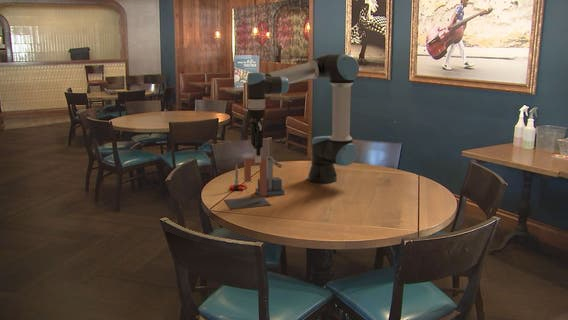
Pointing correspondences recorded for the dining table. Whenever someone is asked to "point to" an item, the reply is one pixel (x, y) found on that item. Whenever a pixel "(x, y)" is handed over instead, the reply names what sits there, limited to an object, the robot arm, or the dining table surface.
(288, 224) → the dining table surface
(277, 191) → the toilet paper holder
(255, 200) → the mat
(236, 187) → the tow hook
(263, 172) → the reddish-brown c-shaped bracket
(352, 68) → the robot arm
